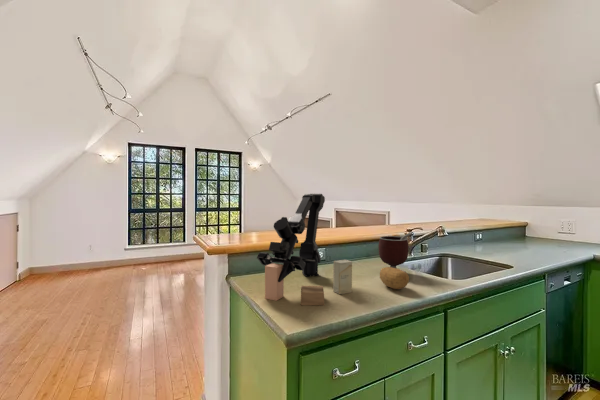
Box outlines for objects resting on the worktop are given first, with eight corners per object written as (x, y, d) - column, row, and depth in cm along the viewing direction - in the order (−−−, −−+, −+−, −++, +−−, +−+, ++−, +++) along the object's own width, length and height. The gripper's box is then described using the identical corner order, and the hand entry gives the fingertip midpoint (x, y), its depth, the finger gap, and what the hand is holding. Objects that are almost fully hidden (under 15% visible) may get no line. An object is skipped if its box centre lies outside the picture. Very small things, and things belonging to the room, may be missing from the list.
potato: (391, 281, 125) (391, 263, 125) (415, 291, 112) (415, 271, 112) (373, 284, 121) (373, 265, 121) (395, 295, 108) (395, 274, 108)
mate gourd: (378, 276, 133) (379, 233, 133) (377, 268, 147) (378, 229, 146) (414, 278, 129) (414, 234, 129) (409, 270, 143) (410, 230, 142)
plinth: (301, 296, 106) (301, 285, 106) (322, 296, 106) (322, 285, 106) (300, 305, 98) (300, 292, 98) (324, 305, 98) (324, 292, 98)
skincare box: (339, 294, 108) (339, 263, 108) (332, 291, 112) (332, 260, 112) (352, 292, 111) (352, 261, 111) (345, 288, 115) (345, 259, 115)
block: (272, 294, 109) (272, 263, 109) (283, 296, 107) (283, 264, 106) (265, 298, 104) (264, 266, 104) (276, 300, 102) (276, 267, 102)
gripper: (259, 231, 113) (242, 265, 103) (301, 235, 105) (287, 272, 95) (270, 248, 120) (254, 281, 110) (310, 252, 112) (297, 288, 102)
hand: (272, 280), depth 104 cm, fingers closed on block, 5 cm apart
